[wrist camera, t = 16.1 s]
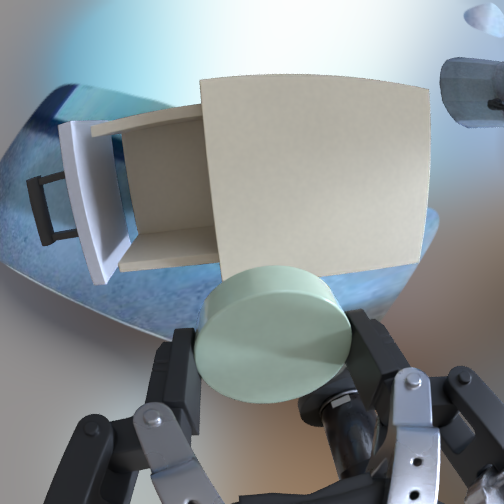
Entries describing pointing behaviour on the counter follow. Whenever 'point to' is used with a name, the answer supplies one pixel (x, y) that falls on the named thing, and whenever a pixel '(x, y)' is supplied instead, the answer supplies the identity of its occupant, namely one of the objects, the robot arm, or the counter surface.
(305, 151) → the cabinet
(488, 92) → the moka pot
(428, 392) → the robot arm
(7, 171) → the counter surface
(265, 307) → the pale green disc
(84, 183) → the drawer
